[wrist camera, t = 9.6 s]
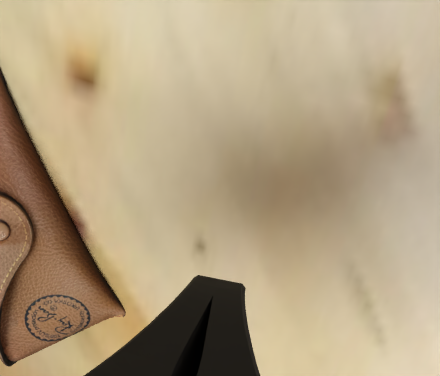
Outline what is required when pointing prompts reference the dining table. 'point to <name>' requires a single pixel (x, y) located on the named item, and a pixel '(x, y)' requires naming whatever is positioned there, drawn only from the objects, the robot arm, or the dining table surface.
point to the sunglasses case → (40, 253)
